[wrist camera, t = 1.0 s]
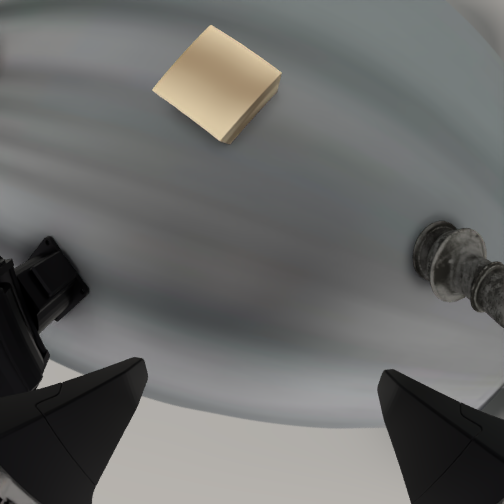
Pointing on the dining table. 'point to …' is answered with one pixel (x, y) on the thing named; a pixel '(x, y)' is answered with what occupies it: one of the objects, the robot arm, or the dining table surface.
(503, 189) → the dining table surface
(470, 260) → the grey tall rounded piece
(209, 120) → the maple block
